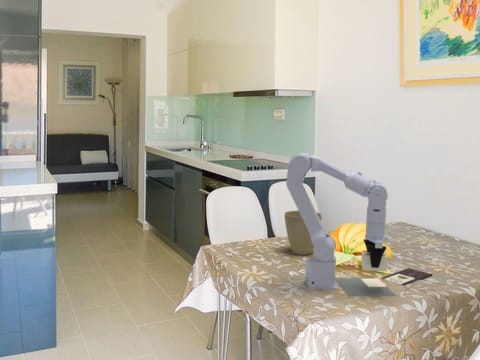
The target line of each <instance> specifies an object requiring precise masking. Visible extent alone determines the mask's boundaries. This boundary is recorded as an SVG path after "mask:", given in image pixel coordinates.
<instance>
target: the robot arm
mask: <svg viewBox="0 0 480 360" xmlns="http://www.w3.org/2000/svg"><path fill="white" fill-rule="evenodd" d="M309 171H310V172H313V173H314V172H315V173H316V172H321V173H324V174H327V175H328V176H331V177H332V178H335V179H336V180H339V181H341V182H343V183H344V187H345V189H348V190H350V191H352V192H353V193H355V194H358V195H359V196H362V197H363V198H367V201H368V202H367V203H368V205H367V206H366V207H367V208H366V221H365V223H366V224H365V235H364V239H363V243H364V245H365V248H366V252H369V253H370V260H371V266H372V268H379V265H380V262H381V258H382V256H383V253H385V252H386V251H387V246H385V245H384V244H383V243H384V242H385V240H389V238H390V237H389V236H387V235H385V234H386V218H387V217H386V216H387V208H386V207H387V200H388V196H389V195H388V192H387V188H386V187H385V185H383V184H382V183H381V182H377V180H375V179H370V178H368V177H366V176H364V175H363V172H361V171H357V172H356V171H351V172H347V171H346V170H343V169H342V168H340V167H338V166H336V165H335V164H333V163H331V162H329V161H327V160H326V159H324V158H322V157H319V156H318V155H315V154H311V153H309V152H307V151H301V152H298V153H296V154H294V155H293V156H292V157H291V158H290V161H289V162H288V164H287V172H286V174H287V175H286V187H287V191H288V192H289V194H290V196H291V198H292V200H293V202H294V204H295V206H296V208H297V211H299V212H300V214H301V217H302V219H303V221H304V223H305V225H306V227H307V229H308V231H309V233H310V236H311V241H312V244H313V246H314V247H313V254H314V255H313V257H312V258H307V259H306V260H305V268H304V269H305V271H304V282H305V284H306V285H307V287H308V289H310V290H319V289H320V290H326V289H327V290H330V289H331V290H332V289H335V290H336V289H339V288H340V286H339V285H337V283H336V281H335V278H336V269H337V268H336V265H337V257H336V256H335V249H336V248H337V247H336V246H337V243H336V241H335V239H334V238H333V237H332V236H331V235H330V234H329V232H328V231H327V229H326V228H325V227H324V225H323V223H322V220H321V221H320V219H319V217H318V215H317V213H318V212H317V210H316V209H315V207H314V204H313V203H312V200H311V198H310V196H309V194H308V192H307V190H306V188H305V186H304V182H305V181H304V180H305V178H306V175H307V173H308V172H309ZM316 212H317V213H316Z"/></svg>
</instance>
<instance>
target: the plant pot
mask: <svg viewBox="0 0 480 360" xmlns="http://www.w3.org/2000/svg"><path fill="white" fill-rule="evenodd" d="M316 213H317V215H318V217H319V219H320V221H321V222H322V219H323V214H322V213H321V212H317V211H316ZM283 214H284V221H285V230H286V234H287V239H288V243H289V246H290V249H291V252H292V253H293V254H295V255H298V256H299V255H301V256H307V255H310V254H312V251H313V250H314V246H313V244H312V241H311V236H310V233H309V231H308V229H307V227H306V225H305V223H304V221H303V219H302V217H301V214H300V212H299V210H289V211H285V212H284V213H283Z"/></svg>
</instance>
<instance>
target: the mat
mask: <svg viewBox="0 0 480 360" xmlns="http://www.w3.org/2000/svg"><path fill="white" fill-rule="evenodd" d="M335 283H336V284H338V286H339V288H341V289H342V290H343V292H345V294H346V296H348V297H349V298H350V297H397V294H396V293H394V291H392V290H391V289H390V288H389V287H388V286H387V285H386V284H385V283H384V282H383V281H382V280H381V279H379V278H378V277H335Z"/></svg>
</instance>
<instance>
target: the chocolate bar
mask: <svg viewBox="0 0 480 360" xmlns="http://www.w3.org/2000/svg"><path fill="white" fill-rule="evenodd" d="M430 277H433V273H429V272H425V271H422V270H417V269H414V268H410V267H408V268H405V269H402V270H400V271H397V272H394V273H391V274H388V275H385V276H382V277H380V280H381V279H382V280H385V281H389V282H392V283H395V284H397V285H401V286H407V285H409V284H412V283H415V282H416V281H422V280H425V279H427V278H430Z"/></svg>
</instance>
